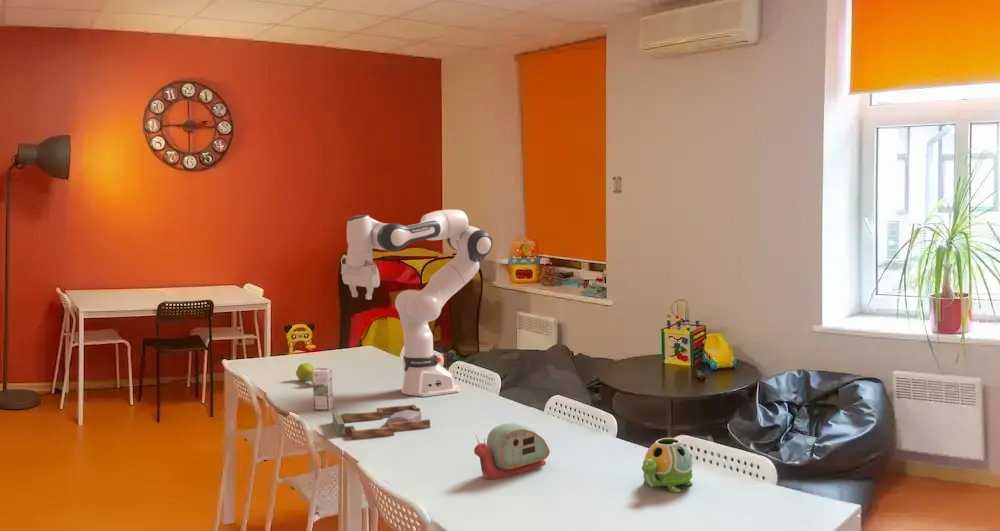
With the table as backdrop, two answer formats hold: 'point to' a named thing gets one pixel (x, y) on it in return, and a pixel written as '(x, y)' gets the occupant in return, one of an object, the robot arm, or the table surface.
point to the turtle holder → (667, 465)
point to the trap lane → (380, 414)
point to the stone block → (405, 416)
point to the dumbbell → (305, 372)
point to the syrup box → (322, 388)
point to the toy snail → (511, 451)
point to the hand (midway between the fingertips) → (361, 298)
